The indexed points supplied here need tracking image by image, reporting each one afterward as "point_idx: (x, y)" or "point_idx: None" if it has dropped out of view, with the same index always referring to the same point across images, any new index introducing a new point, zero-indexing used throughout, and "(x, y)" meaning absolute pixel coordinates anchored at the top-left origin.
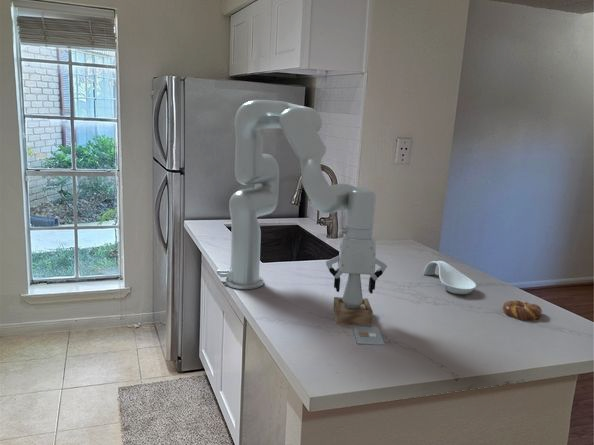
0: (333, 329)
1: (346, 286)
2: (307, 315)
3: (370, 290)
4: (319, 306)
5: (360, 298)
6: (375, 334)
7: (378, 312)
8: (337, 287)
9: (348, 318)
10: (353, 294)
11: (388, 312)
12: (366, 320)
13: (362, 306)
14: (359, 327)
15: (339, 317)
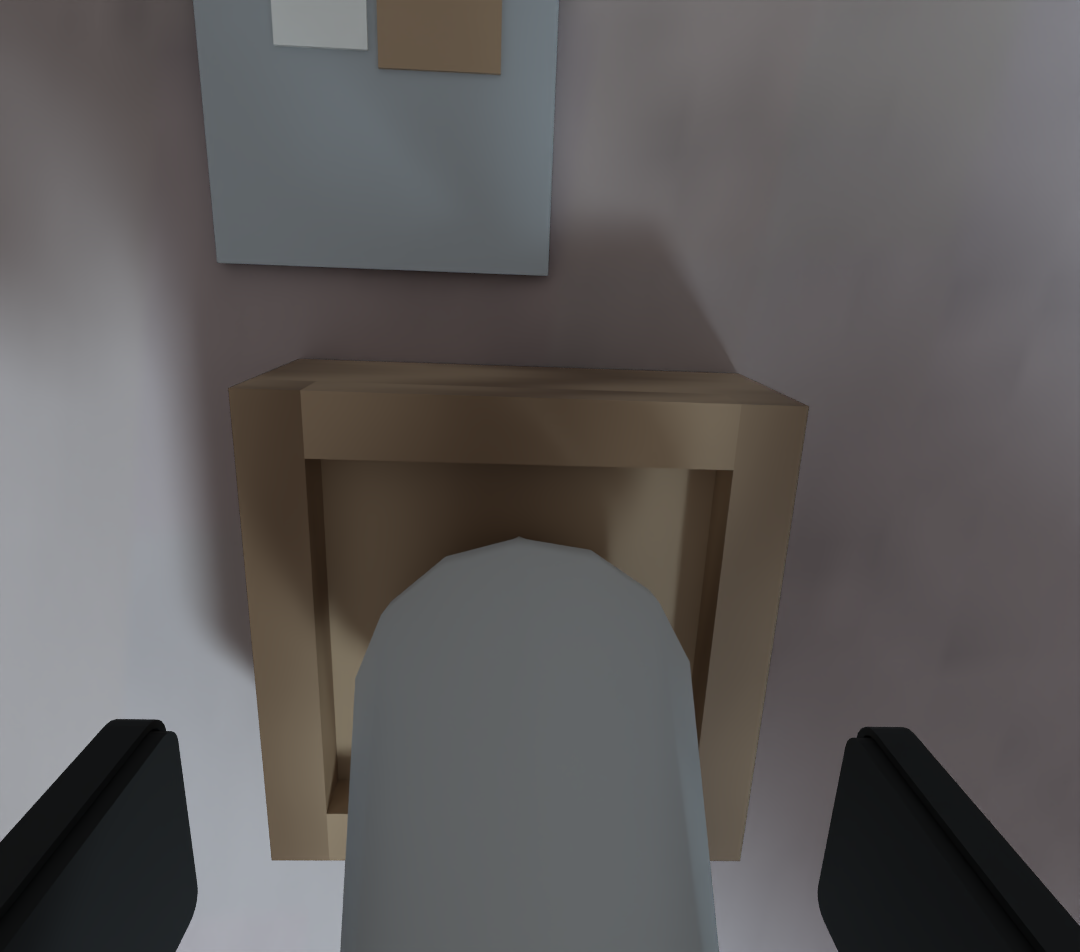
0: (805, 199)
1: (709, 883)
2: (1015, 572)
3: (133, 765)
4: (823, 800)
5: (402, 637)
6: (272, 10)
7: (185, 718)
8: (957, 794)
9: (602, 379)
10: (554, 653)
11: (67, 728)
12: (355, 368)
13: None
14: (467, 248)
15: (727, 385)
